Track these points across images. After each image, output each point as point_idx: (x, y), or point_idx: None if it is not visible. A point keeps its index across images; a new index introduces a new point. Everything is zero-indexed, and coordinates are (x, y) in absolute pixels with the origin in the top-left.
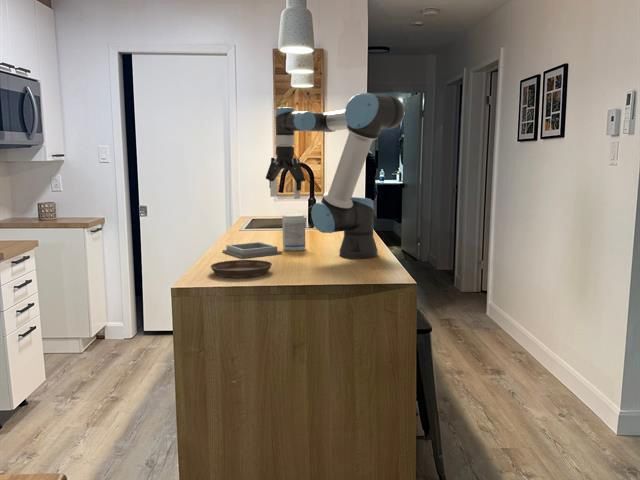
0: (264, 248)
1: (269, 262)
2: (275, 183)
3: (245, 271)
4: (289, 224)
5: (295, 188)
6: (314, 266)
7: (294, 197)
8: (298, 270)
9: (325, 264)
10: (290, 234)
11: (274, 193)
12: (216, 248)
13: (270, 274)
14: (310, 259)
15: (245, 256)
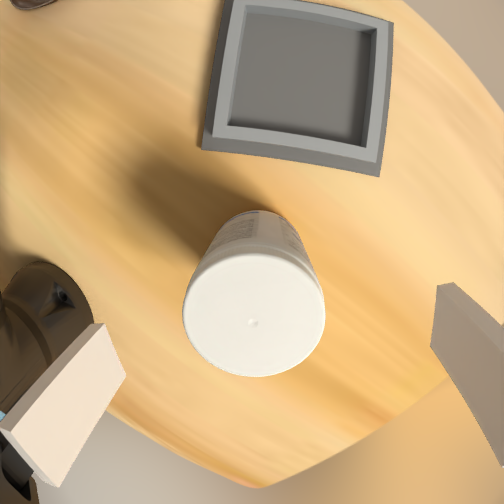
0: (221, 77)
1: (32, 7)
2: (494, 436)
3: None
4: (220, 245)
5: (34, 383)
6: (6, 123)
7: (96, 330)
8: (4, 70)
9: (7, 160)
10: (223, 232)
11: (446, 342)
12: (470, 73)
13: None
14: (66, 168)
15: (224, 7)
